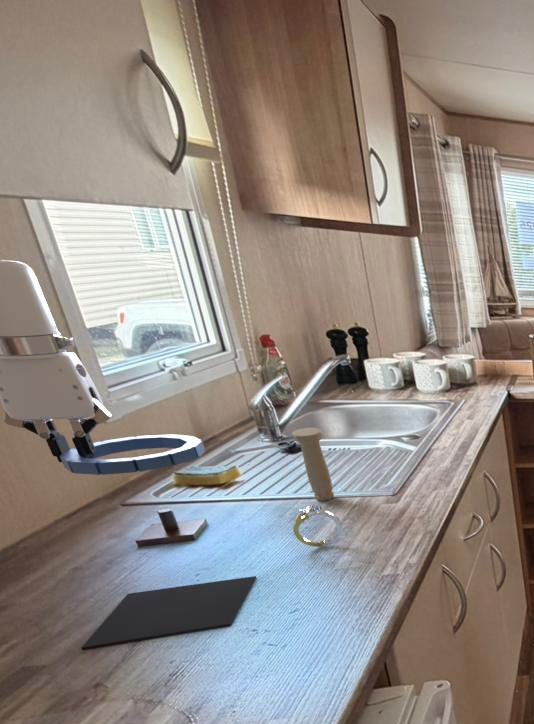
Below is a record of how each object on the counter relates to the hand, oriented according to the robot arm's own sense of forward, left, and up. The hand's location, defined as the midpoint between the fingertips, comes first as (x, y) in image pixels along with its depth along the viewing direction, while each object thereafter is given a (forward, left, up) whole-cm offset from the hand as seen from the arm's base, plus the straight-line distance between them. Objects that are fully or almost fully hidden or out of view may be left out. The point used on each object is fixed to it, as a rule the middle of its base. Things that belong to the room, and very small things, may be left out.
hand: (77, 458), depth 106 cm
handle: (+29, +16, -17) cm, 37 cm away
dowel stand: (+7, +4, -17) cm, 19 cm away
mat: (+16, -29, -17) cm, 37 cm away
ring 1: (+8, 0, -1) cm, 8 cm away
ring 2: (+32, -11, -17) cm, 38 cm away
